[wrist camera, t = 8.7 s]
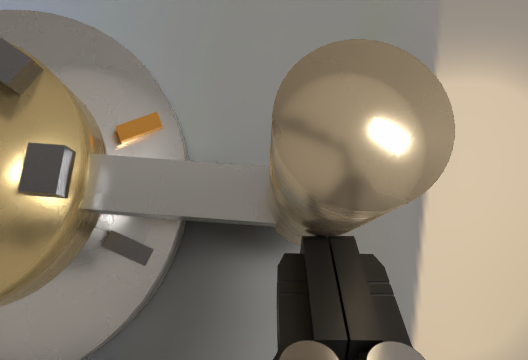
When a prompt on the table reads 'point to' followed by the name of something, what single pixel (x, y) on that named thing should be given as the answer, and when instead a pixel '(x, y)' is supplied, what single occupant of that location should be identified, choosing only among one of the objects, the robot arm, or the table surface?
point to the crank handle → (219, 174)
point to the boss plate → (108, 226)
